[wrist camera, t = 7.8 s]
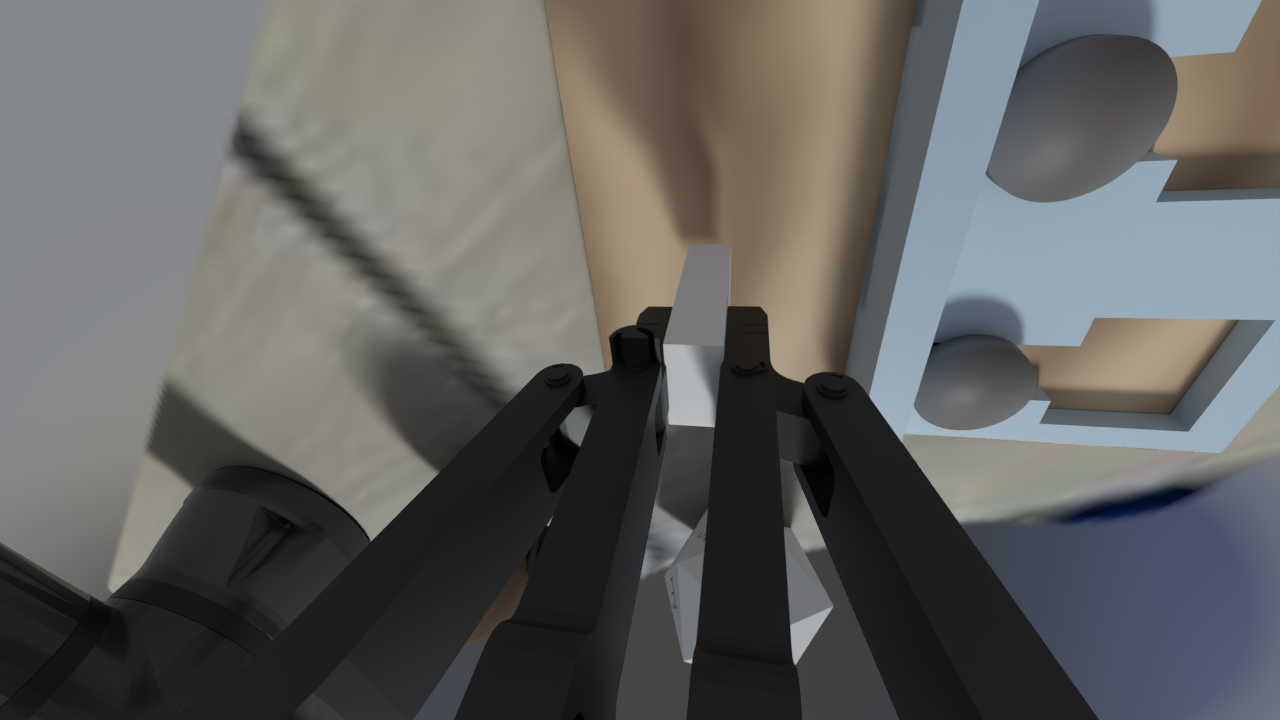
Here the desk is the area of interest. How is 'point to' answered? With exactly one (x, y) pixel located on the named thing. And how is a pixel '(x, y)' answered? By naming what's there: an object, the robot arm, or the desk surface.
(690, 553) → the die
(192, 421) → the desk surface
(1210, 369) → the panel
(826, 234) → the board
